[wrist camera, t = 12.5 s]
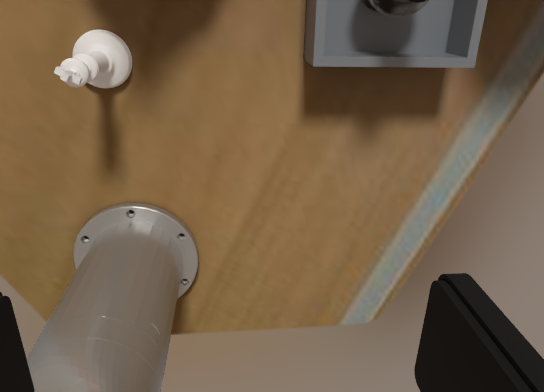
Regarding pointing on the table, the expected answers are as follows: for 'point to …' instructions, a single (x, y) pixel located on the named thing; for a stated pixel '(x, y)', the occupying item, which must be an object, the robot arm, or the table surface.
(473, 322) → the robot arm
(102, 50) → the chess piece
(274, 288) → the table surface
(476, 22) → the box
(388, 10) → the grey pawn
